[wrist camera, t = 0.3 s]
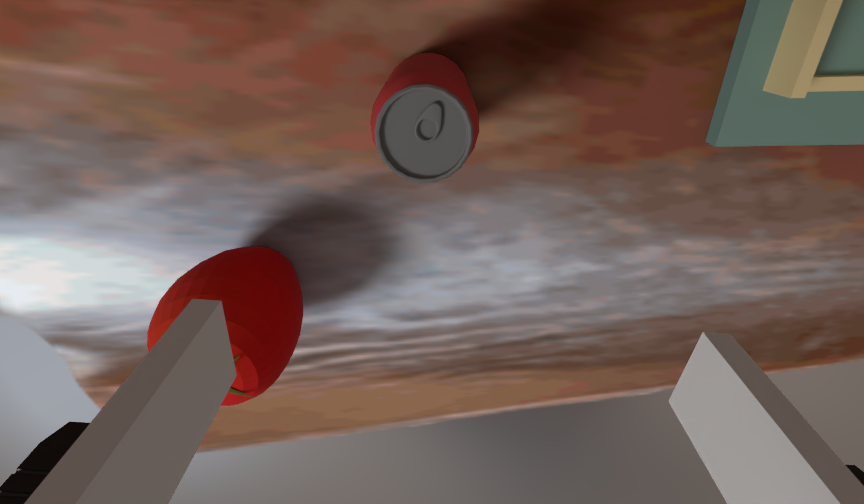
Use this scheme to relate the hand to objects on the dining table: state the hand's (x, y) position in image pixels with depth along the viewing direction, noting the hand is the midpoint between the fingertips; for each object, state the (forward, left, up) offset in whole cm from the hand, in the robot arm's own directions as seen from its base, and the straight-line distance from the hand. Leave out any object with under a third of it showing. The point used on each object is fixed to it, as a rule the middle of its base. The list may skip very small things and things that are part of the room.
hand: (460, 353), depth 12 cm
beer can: (-2, -1, -27) cm, 27 cm away
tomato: (+15, -18, -27) cm, 36 cm away
